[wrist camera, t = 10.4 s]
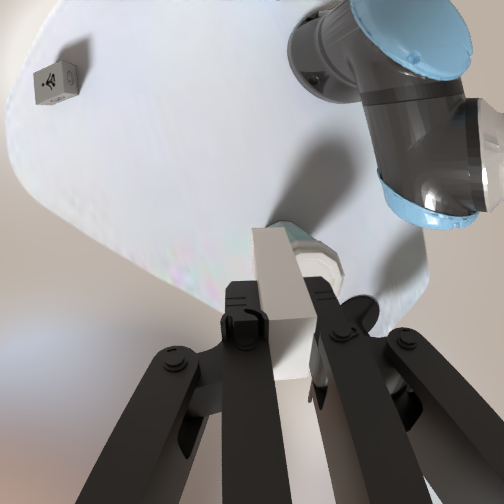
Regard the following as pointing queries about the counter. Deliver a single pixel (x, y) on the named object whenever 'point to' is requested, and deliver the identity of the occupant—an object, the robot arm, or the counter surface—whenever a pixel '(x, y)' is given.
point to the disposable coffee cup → (313, 256)
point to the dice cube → (55, 83)
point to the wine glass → (362, 313)
